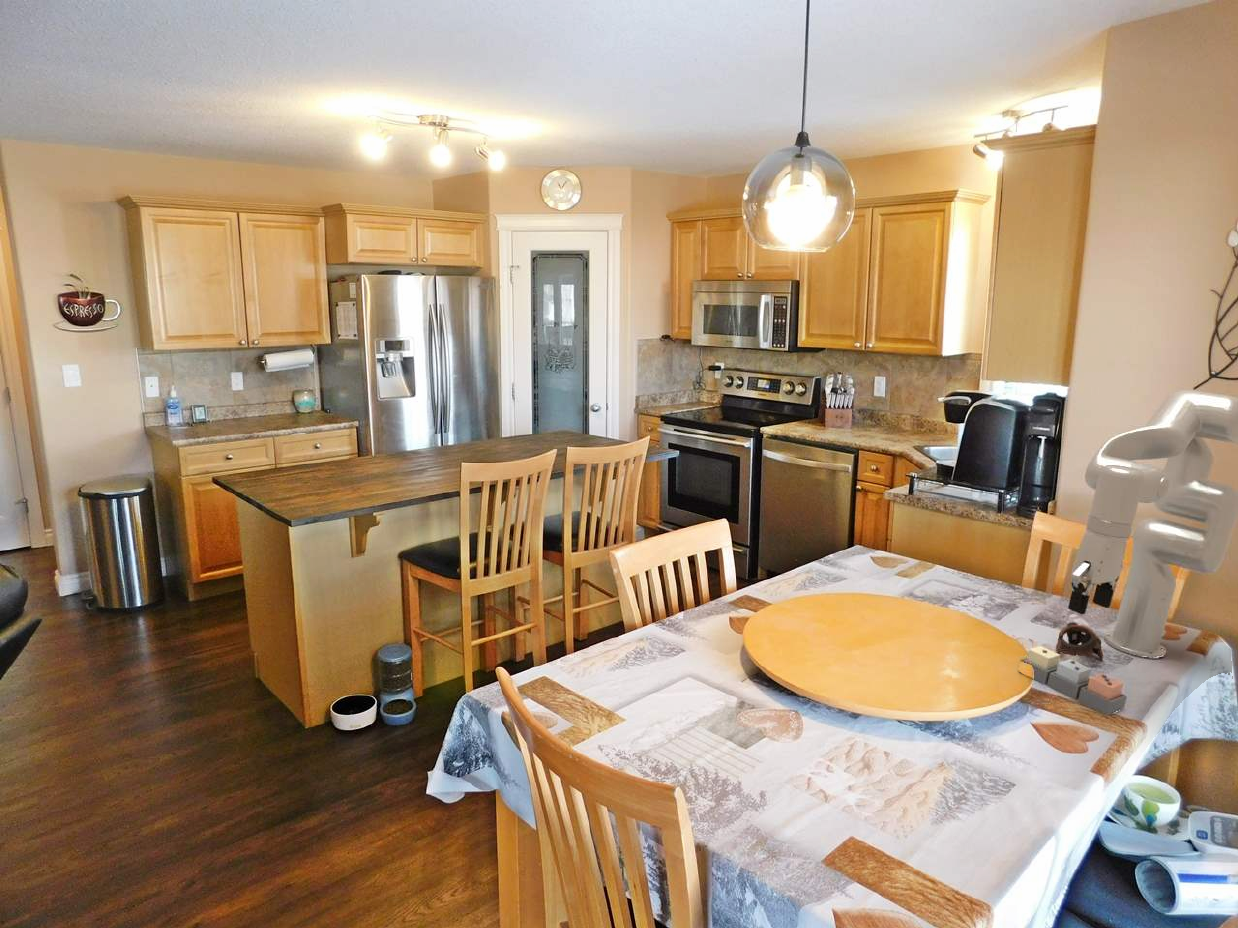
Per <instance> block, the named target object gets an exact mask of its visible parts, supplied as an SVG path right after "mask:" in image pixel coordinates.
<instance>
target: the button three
mask: <svg viewBox="0 0 1238 928" xmlns="http://www.w3.org/2000/svg"><path fill="white" fill-rule="evenodd" d="M1123 688H1124V682H1121V681H1119V680H1117V679H1114V678H1112V677H1110V676H1108V675H1106V674H1103V673H1099V674H1096V675H1093V676H1091V677H1090V676H1089V683H1088V687H1087V690H1089V691H1091V692H1093V693H1095V694H1097V695H1099V696H1101V697H1104V698H1106V699H1108V700H1113V699H1115V698H1118V697H1120V696H1121V694H1122V693H1123Z"/></svg>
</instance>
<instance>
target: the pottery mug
mask: <svg viewBox="0 0 1238 928" xmlns="http://www.w3.org/2000/svg"><path fill="white" fill-rule="evenodd" d="M1084 633H1085V634H1084ZM1065 634H1066V636H1067V641H1066V640H1064V636H1065ZM1102 648H1103V647H1102V641H1101V638H1100V637H1099V636H1098V635H1097V634H1096V633H1094V631H1093V629H1091V628H1090V627H1088V626H1085V625H1082V624H1078V623H1077V622H1074V621H1072V622H1068V623H1067V625H1066V626H1065V627H1063V628H1062V629H1061V630H1060V631H1059V633H1058V638H1057V643H1056V645H1055V651H1056V653H1057V654H1060V653H1061V654H1064V655H1068V656H1072V657H1076V656H1078V657H1079V656H1080V657H1081V656H1090V657H1093V656H1094V654H1095V655H1096V656H1097V657H1098V659H1099V661H1100V662H1103V658H1104V652H1103V650H1102ZM1061 654H1060V655H1061Z"/></svg>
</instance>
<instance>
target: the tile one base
mask: <svg viewBox="0 0 1238 928" xmlns="http://www.w3.org/2000/svg"><path fill="white" fill-rule="evenodd" d="M1027 657H1028V656H1026V657H1023V658H1020V661H1022V662H1024V663H1027V664H1030V665H1032V667H1033V669H1034V679H1033V680H1034V681H1036V682H1038V683H1040V684H1042V685H1044V686H1045V685H1046V686H1047V684H1048V680H1049V675H1050V673H1052V672H1055V671H1057V667H1055V668H1052V669H1049V670H1045V669H1043V668H1041V667H1039V666H1037V665H1035V664H1032V663H1030V662H1028V661H1026V660H1027Z"/></svg>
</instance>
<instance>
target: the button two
mask: <svg viewBox="0 0 1238 928" xmlns="http://www.w3.org/2000/svg"><path fill="white" fill-rule="evenodd" d="M1091 671H1092V668H1091V667H1087V666H1085V665H1084V664H1081V663H1079V662H1077V661H1075V660H1073V659H1067V660H1065V661H1061V662H1059V663H1058V667H1057V672H1056V675H1058V676H1060V677H1062V678H1064V679H1066V680H1068V681H1070V682H1072V683H1074V684H1076V685H1079V684H1082V683H1084V682H1087V681H1088V679H1090V675H1091Z"/></svg>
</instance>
